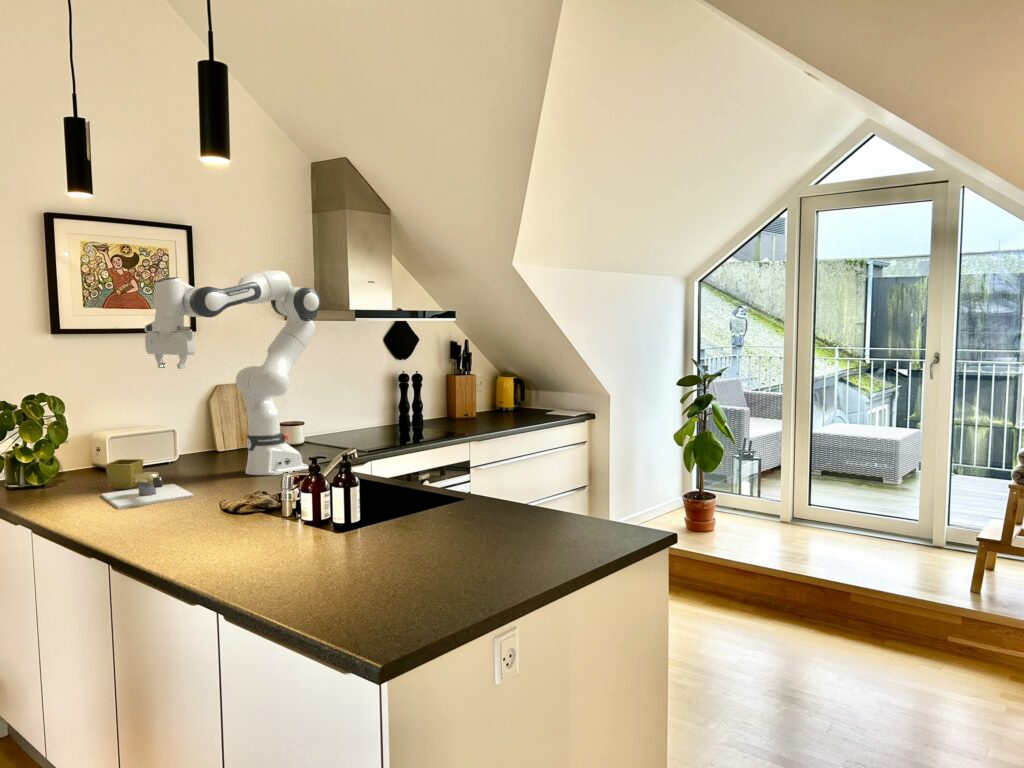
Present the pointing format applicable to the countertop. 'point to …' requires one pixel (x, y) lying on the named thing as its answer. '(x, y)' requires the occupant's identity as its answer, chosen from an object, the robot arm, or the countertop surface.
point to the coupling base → (146, 495)
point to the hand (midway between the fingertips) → (171, 368)
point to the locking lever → (149, 479)
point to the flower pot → (124, 472)
